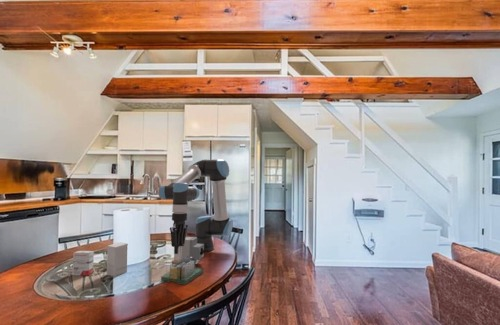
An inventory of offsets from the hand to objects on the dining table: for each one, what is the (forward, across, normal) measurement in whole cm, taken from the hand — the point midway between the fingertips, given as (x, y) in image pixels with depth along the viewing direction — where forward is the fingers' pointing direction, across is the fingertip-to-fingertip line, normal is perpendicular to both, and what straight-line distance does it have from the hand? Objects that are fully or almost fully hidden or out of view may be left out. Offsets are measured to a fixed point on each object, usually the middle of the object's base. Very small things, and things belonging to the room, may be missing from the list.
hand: (177, 259), depth 145 cm
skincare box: (+11, +3, -35) cm, 37 cm away
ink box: (+11, +10, -51) cm, 53 cm away
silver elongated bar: (+2, -5, 0) cm, 6 cm away
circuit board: (+10, -6, 0) cm, 12 cm away
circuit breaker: (+9, -26, -6) cm, 28 cm away
